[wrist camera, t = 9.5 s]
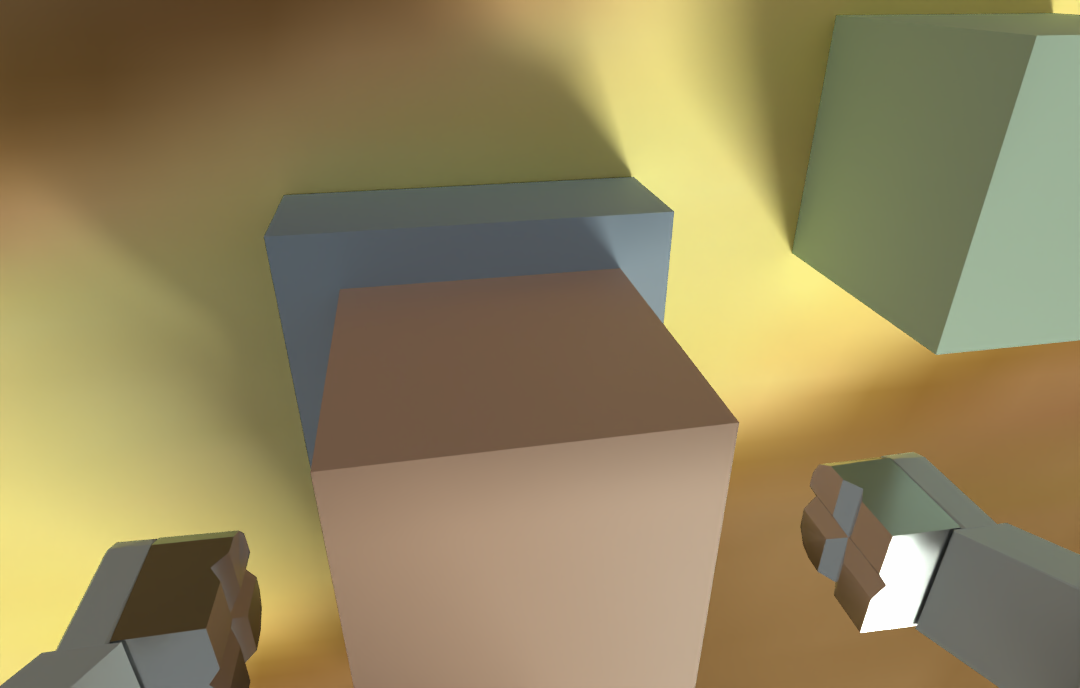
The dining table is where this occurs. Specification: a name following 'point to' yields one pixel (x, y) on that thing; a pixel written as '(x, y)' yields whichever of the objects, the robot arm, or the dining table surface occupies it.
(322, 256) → the slate blue block
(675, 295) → the dining table surface
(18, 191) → the dining table surface
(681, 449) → the pinkish brown cube
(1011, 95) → the sage green cube
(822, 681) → the dining table surface
